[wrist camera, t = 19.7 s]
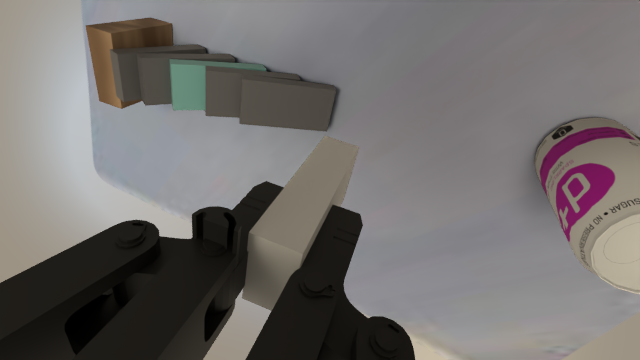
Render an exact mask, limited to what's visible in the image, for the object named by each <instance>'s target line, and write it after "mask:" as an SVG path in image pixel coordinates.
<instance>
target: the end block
mask: <svg viewBox="0 0 640 360" xmlns="http://www.w3.org/2000/svg"><path fill="white" fill-rule="evenodd" d="M86 30H87V35H88V41H89V46H90V52H91V57H92V63H93V68H94V74H95V79H96V85H97V90H98V95H99V101H101V102H104V103H107V104H110V105H112V106H115V107H118V108H121V109H122V108H125V107H127V106H130V105H133V104H135V103H138V102H140V101H142V99H140V100H134V101H127V102H123V101H122V100H121V99H119V98H118V97H117V96H116V89H115V83H114V76H113V69H112V63H111V56H110V50H109V49H122V48H141V47H160V46H173V34H172V24H171V23H167V22H164V21H161V20H157V19H154V18H144V19H135V20H127V21H119V22H111V23H103V24H94V25H86Z"/></svg>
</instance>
